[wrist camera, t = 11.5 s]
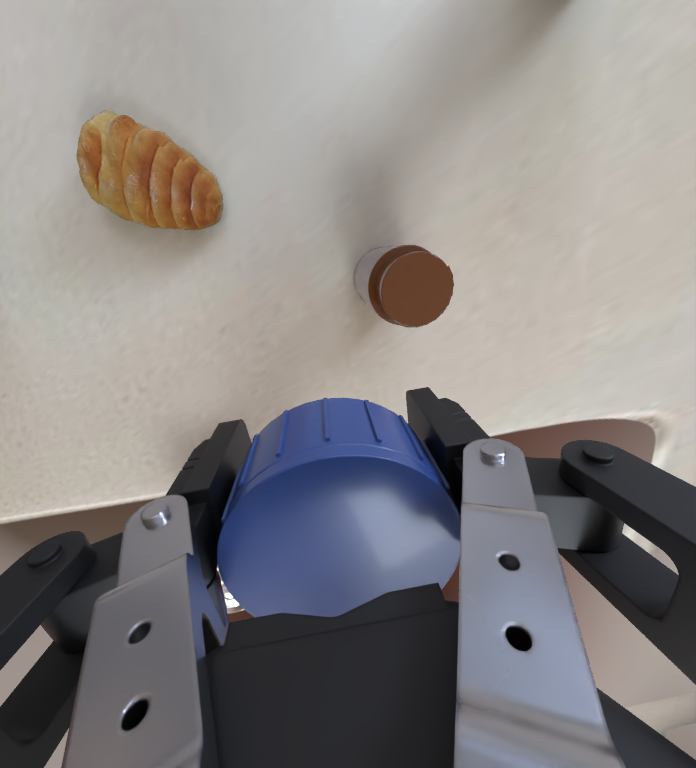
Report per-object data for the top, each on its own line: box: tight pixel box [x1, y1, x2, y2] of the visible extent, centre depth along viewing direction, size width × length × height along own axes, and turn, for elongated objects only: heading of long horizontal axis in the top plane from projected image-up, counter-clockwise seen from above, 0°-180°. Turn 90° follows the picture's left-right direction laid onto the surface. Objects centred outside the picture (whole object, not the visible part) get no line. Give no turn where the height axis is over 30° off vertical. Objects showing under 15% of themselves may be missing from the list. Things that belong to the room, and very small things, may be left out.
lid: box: [217, 398, 461, 617], centre depth 9 cm, size 6×6×3 cm
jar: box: [354, 245, 454, 327], centre depth 25 cm, size 5×5×12 cm
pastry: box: [77, 110, 223, 230], centre depth 24 cm, size 9×7×4 cm
